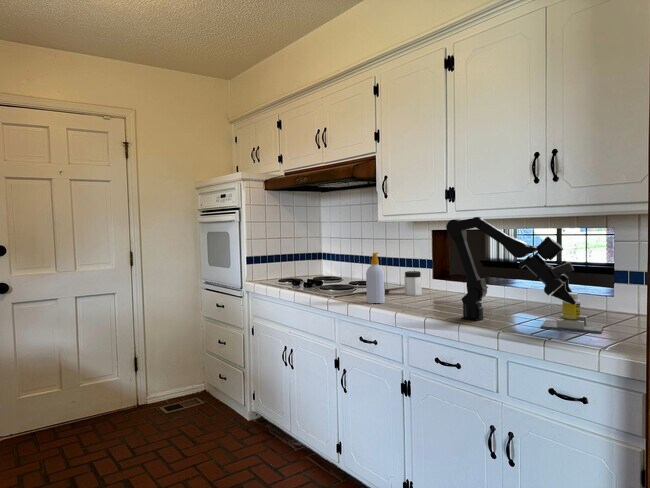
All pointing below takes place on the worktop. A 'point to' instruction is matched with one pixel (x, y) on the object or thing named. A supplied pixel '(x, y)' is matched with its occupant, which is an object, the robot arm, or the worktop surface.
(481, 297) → the robot arm
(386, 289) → the cup and saucer
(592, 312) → the worktop surface
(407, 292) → the jar
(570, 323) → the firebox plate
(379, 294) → the soap bottle
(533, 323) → the worktop surface
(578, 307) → the supplement bottle
